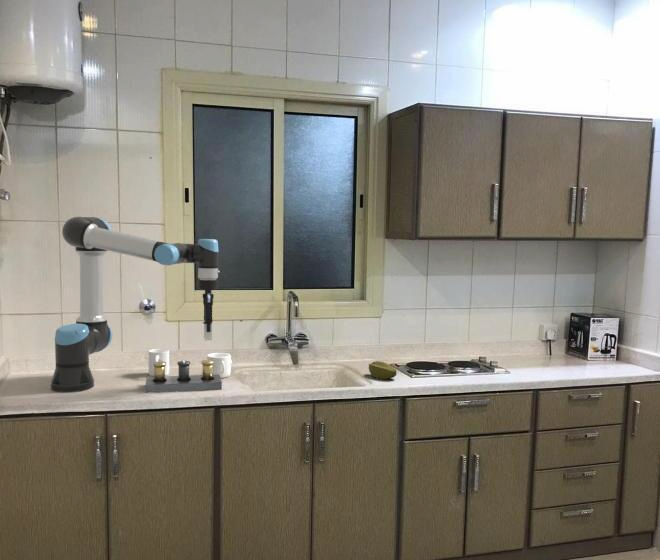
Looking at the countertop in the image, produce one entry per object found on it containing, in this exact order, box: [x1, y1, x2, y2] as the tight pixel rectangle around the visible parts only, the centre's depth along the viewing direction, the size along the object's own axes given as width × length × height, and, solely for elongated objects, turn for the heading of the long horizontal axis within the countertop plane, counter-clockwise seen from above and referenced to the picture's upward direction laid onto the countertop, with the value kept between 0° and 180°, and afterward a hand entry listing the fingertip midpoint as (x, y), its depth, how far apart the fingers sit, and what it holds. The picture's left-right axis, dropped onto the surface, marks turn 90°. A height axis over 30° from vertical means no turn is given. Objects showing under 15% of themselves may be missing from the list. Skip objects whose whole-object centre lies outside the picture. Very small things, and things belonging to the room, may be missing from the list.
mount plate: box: [144, 374, 223, 394], centre depth 231 cm, size 28×12×3 cm, turn 105°
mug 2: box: [206, 352, 233, 379], centre depth 248 cm, size 12×10×9 cm
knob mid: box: [177, 359, 191, 381], centre depth 231 cm, size 5×5×7 cm
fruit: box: [368, 360, 397, 380], centre depth 254 cm, size 11×12×7 cm
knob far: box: [200, 359, 214, 380], centre depth 233 cm, size 5×5×7 cm
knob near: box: [153, 362, 166, 382], centre depth 228 cm, size 5×5×7 cm
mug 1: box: [148, 348, 170, 377], centre depth 247 cm, size 12×8×10 cm
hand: (207, 338), depth 232 cm, fingers open, 4 cm apart
